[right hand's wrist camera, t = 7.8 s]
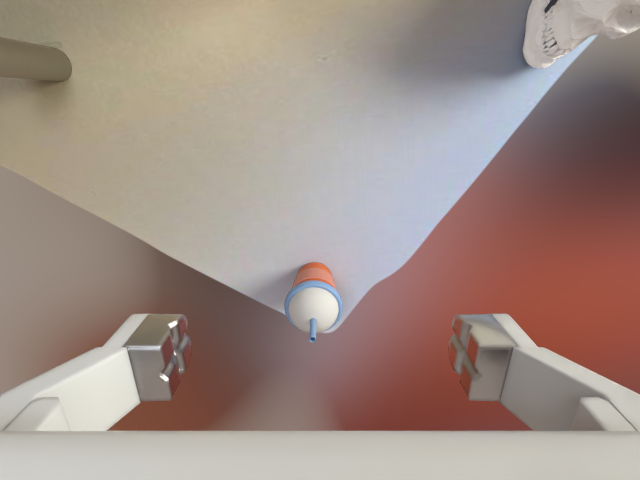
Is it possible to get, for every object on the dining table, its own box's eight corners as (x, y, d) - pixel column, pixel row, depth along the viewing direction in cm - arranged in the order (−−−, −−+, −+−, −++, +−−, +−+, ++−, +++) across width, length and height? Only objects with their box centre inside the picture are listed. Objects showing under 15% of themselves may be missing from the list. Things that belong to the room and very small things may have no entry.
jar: (65, 46, 50) (-35, 24, 36) (75, 80, 52) (-17, 71, 38) (35, 49, 50) (-76, 28, 36) (47, 82, 52) (-56, 75, 38)
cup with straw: (285, 293, 65) (273, 360, 48) (294, 249, 62) (285, 305, 45) (333, 302, 66) (337, 371, 49) (344, 260, 62) (353, 317, 46)
